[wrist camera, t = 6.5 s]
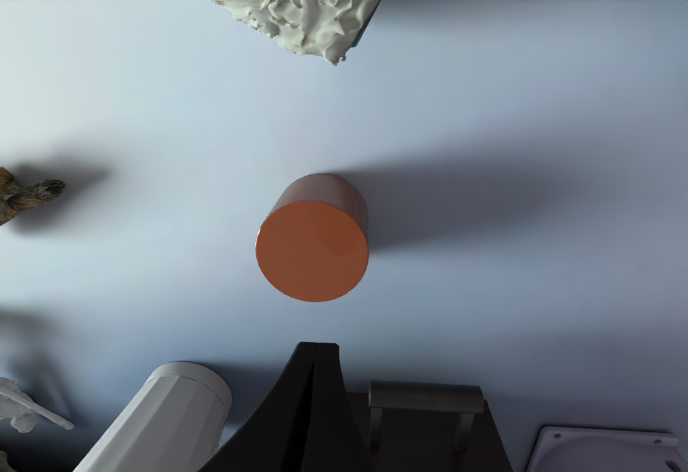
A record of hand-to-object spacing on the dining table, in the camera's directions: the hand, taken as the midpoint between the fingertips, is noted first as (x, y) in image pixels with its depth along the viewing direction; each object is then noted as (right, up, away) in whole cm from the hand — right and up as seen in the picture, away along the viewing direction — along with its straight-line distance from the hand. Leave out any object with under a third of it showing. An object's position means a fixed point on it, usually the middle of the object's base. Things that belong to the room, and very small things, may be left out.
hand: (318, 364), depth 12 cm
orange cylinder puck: (0, +5, +8) cm, 10 cm away
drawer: (+5, -10, +14) cm, 18 cm away
